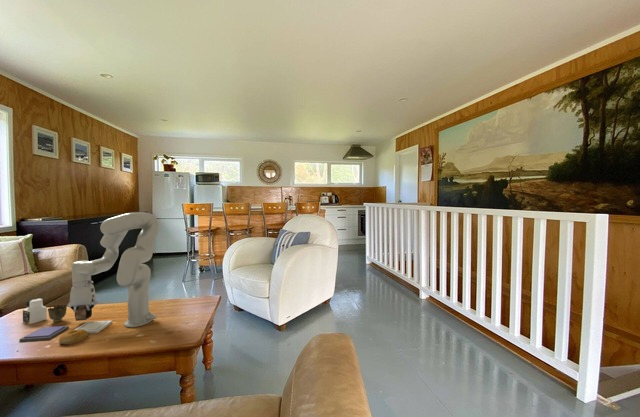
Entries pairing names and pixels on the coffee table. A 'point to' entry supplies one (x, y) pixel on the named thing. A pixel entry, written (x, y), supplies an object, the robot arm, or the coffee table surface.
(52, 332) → the ink pad
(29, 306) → the medicine bottle
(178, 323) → the coffee table surface
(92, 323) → the board
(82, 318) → the stamp
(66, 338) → the bagel
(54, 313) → the cup
